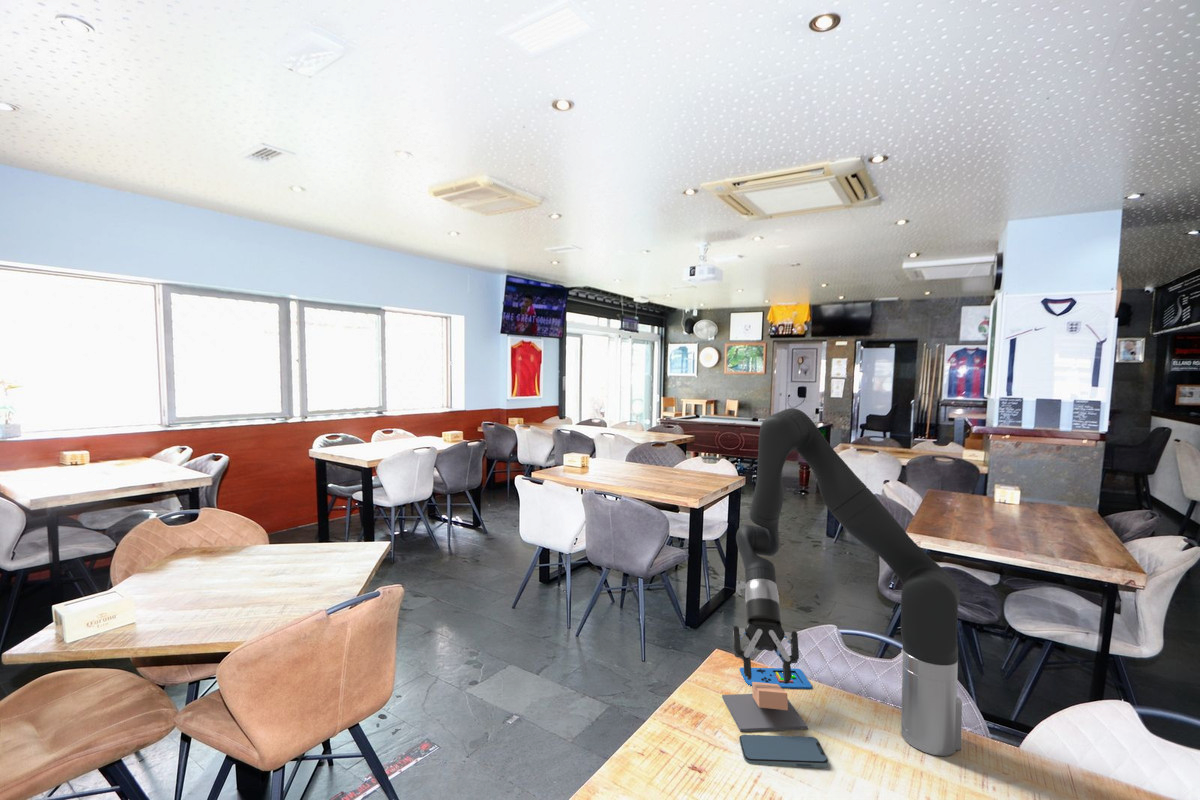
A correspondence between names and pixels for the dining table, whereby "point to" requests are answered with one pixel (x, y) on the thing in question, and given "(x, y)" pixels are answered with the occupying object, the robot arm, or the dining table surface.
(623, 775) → the dining table surface
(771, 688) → the tan rectangular block
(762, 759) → the smartphone
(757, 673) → the handheld gaming device
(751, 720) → the rubber mat
